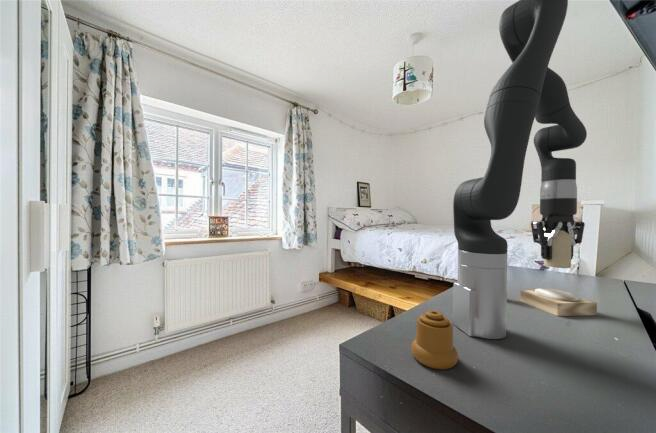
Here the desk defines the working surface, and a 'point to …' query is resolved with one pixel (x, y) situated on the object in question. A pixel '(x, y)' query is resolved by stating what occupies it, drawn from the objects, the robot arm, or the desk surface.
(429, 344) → the ornamental finial
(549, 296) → the candle stand
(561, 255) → the candle
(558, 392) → the desk surface
